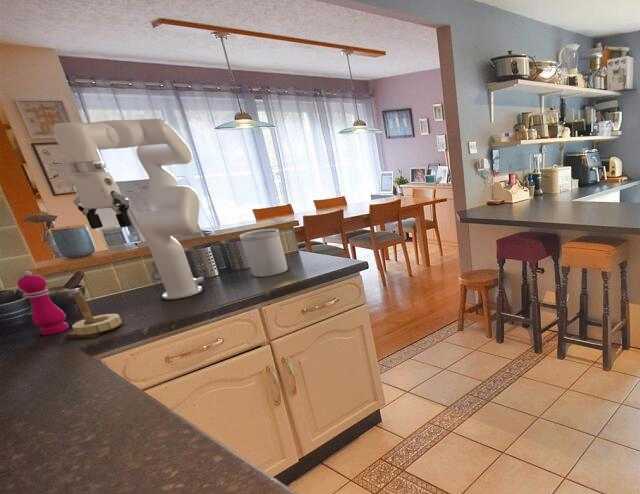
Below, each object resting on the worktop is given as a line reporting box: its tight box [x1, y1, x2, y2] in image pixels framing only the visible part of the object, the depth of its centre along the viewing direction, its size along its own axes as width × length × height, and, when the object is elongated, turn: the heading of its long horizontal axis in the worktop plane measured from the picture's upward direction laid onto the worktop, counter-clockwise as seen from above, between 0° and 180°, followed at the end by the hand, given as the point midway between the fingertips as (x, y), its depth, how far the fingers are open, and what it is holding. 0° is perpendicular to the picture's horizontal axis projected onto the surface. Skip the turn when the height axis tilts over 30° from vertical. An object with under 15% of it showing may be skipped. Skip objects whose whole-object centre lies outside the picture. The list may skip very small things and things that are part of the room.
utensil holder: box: [238, 228, 288, 278], centre depth 186 cm, size 15×15×18 cm
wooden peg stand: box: [65, 290, 122, 339], centre depth 133 cm, size 9×9×13 cm
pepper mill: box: [17, 270, 70, 336], centre depth 134 cm, size 7×7×20 cm
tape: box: [71, 313, 123, 335], centre depth 135 cm, size 11×11×2 cm
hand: (111, 227), depth 133 cm, fingers open, 9 cm apart
